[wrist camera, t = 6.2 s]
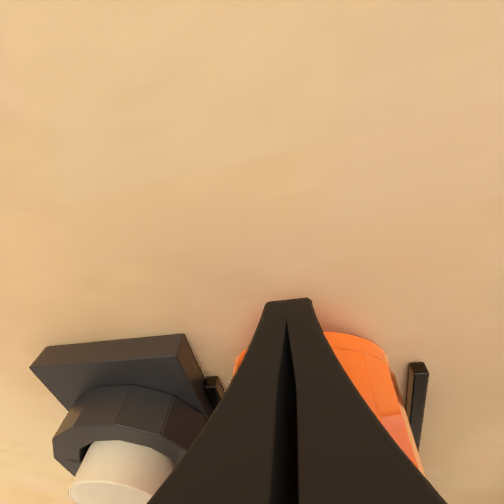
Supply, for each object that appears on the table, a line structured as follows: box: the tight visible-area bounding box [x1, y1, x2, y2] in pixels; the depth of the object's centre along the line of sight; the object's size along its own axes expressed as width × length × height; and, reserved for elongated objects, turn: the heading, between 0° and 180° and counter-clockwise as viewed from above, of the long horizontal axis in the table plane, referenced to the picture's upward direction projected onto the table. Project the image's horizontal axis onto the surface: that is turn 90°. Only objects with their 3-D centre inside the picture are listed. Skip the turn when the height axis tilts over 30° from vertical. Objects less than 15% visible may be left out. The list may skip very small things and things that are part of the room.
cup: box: [231, 332, 426, 478], centre depth 10 cm, size 6×6×7 cm
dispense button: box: [68, 440, 175, 504], centre depth 13 cm, size 4×4×2 cm
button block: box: [29, 334, 214, 476], centre depth 15 cm, size 10×7×3 cm
